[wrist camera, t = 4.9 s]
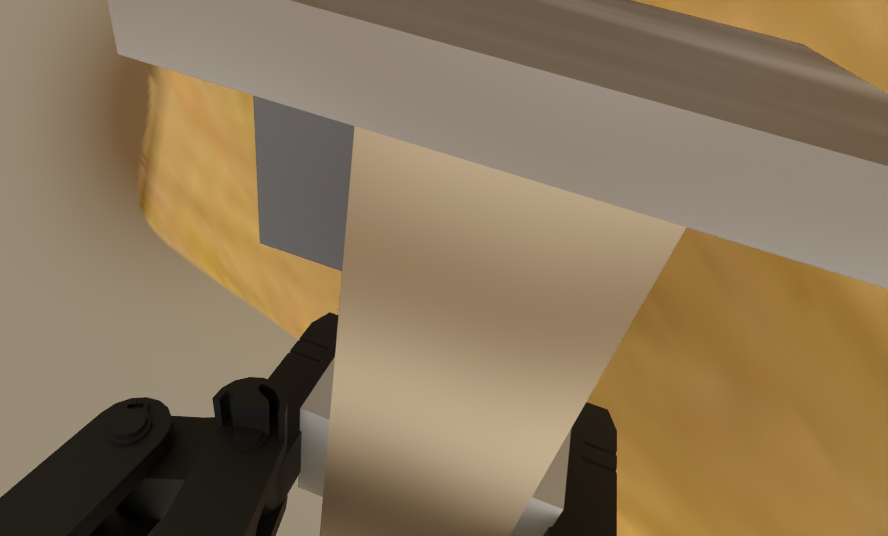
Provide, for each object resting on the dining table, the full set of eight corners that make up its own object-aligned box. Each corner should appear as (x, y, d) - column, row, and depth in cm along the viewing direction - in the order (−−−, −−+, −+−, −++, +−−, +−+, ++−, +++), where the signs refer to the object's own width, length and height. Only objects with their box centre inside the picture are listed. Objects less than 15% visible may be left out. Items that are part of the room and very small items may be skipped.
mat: (445, 298, 32) (442, 305, 31) (266, 237, 34) (260, 242, 33) (532, -71, 21) (529, -72, 20) (254, -133, 22) (243, -135, 22)
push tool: (553, 469, 20) (523, 726, 13) (344, 391, 21) (223, 594, 14) (803, 43, 10) (1120, 229, 4) (393, -61, 11) (97, -53, 5)
